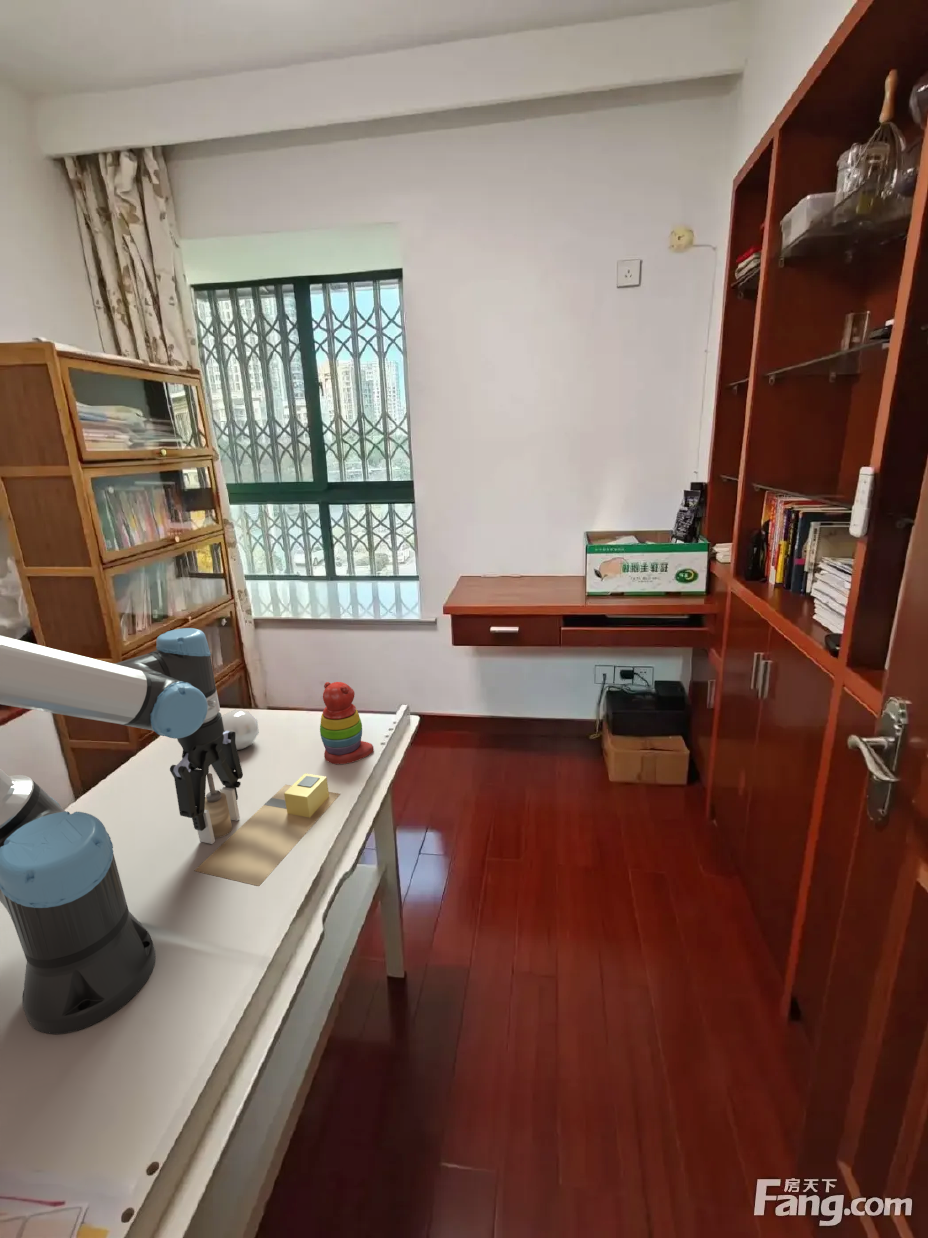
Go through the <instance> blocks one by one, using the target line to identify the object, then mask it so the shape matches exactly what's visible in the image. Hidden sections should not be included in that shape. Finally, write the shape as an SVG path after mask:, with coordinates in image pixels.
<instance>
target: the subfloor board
mask: <svg viewBox="0 0 928 1238" xmlns="http://www.w3.org/2000/svg"><path fill="white" fill-rule="evenodd" d="M291 786H292V784H291V785H290V784H284V785H283V786H282V787H281V788H280V789H279V790H278V791H277V792H276V793H274V794H273V796H272V797H271V798H269V799H268V800H267V801H266V802H265V803H264V804H263V805H262V806H261V807H260V808H259V809H258V810H257V811H256V812H255V813H254V814H253V815H252V816H251V817H250V818H248V819H247V820H246V821H245V822H244V823H243V824H242V825H240V827H239V828H238V829H237V830H235V832H234V833H233V834H232V835H230V836H229V837H228V838H227V839H226V840H225V841H224V842H223V843H221V845H219V847H218V848H216V850H214V851H213V852H212V853H211V854H210V855H209V856H208V857H206V859H205V860H204V861H203V862H202V863H200V865H198V866H197V868H195V869H194V872H197V873H201V874H204V875H209V876H210V875H211V876H215V877H218V878H222V879H226V880H227V879H228V880H232V881H235V882H239V883H244V884H248V885H252V886H256V887H260V886H261V885H262V884H263V882H264V881H266V879H267V878H268V877H269V875H271V874H272V872H273V871H275V869H276V868H277V867H278V866H279V865H280V863H282V861H283V860H284V859H285V858H286V857H287V855H288V854H290V852H291V851H292V850H293V849H294V848H295V846H296V845H297V844H298V843H299V842H300V841H301V840H302V838H303V837H304V836H305V835H306V834H307V833H308V832H309V830H310V829H311V828H312V827H313V826H314V825H315V824H316V823H317V821H319V819H320V818H321V817H322V816H323V815H324V813H326V811H327V810H328V809H329V808H330V807H331V806H332V805H333V804H334V802H335V801H336V800H337V799H338V798H339V797H340V796H341V793H339V792H333V791H329V797H328V798H327V799H326V800H325V802H324V803H323V804H322V805H321V806H320V807H319V808H318V809H317V810H316V811H315V813H314V814H313V815H312V816H311V817H310V818H309V817H304V816H298V815H293V814H288V813H287V808H286V802H285V796H284V793H285V792H286V791H287V790H288V789H289V788H290V787H291Z"/></svg>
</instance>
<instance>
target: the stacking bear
mask: <svg viewBox="0 0 928 1238" xmlns="http://www.w3.org/2000/svg"><path fill="white" fill-rule="evenodd" d="M323 688H324V690H323V692H322V699H323V704H324V706H325V707H324V709H323V711H322V713H321V715H320V716H321V718H320V724H319V732H320V737H321V738H320V739H321V742H322V744H323V746H324V754H323V755H324V756H323V757H324V759H325V761H327V763H329V764H334V765H346V764H351V763H355V762H358V761H360V760H362V759H365V758H366V757H368V756H369V755H371V754H372V753H373V752H374V750H375V748H374V745H373V744H372V743H370V742H367V741H364V740H362V736H363V723H362V719H361V718H360V714H359V712H358V710H357V708H356V705H354V704H353V702H354V699H355V690H354V689H353V688H352V687H350V686H349V684H348V683H345V682H342V681H334V682H332V683H331V682H329V681H326V682H325V683H324V685H323Z"/></svg>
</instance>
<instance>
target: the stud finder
mask: <svg viewBox="0 0 928 1238" xmlns="http://www.w3.org/2000/svg"><path fill="white" fill-rule="evenodd" d="M329 792H330V791H329V784H328V777H327V776H324V775H317V774H311V773H304V774H303V775H301V776H300V777H299V779H298V780H296V781H295V782H294V783H293V784H291V787H290V788H289V789H288V790H287V791H286V792H285V793H284V796H285V802H286V808H287V813H288V814H293V815H298V816H304V817H309V818H310V817H311V816H312V815H313V814H314V813H315V811H316V810H317V809H318V808H319V807H320V806H321V805H322V804H323V803H324V802H325V800H326V799H327V798H328V797H329Z"/></svg>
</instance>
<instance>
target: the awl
mask: <svg viewBox="0 0 928 1238" xmlns="http://www.w3.org/2000/svg"><path fill="white" fill-rule="evenodd" d="M206 781H207V784H208V789H209V792H207V794H205V810H209V814H210V819H211V824H212V829H213V834H214V839H215V838H219V839H220V838H223V837H224V836H227V835H228V834H230V833H231V831H232V830H233V824H232V820H231V819H230V814H229V808H228V803H227V798H226V795H225V794H224V793H221V792H220V790H219V789H216V788H215V782H214V778H213V774H212V773H210V772H209V773H208V775H206Z"/></svg>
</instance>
